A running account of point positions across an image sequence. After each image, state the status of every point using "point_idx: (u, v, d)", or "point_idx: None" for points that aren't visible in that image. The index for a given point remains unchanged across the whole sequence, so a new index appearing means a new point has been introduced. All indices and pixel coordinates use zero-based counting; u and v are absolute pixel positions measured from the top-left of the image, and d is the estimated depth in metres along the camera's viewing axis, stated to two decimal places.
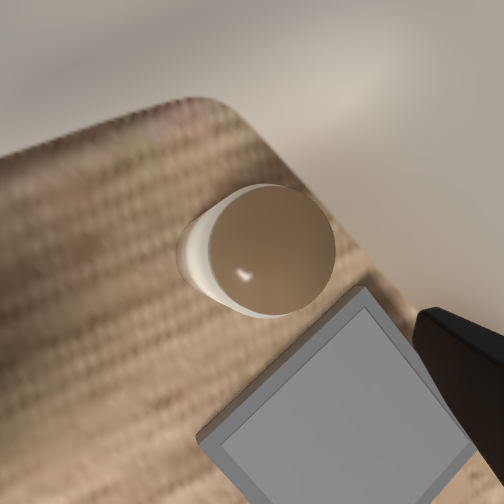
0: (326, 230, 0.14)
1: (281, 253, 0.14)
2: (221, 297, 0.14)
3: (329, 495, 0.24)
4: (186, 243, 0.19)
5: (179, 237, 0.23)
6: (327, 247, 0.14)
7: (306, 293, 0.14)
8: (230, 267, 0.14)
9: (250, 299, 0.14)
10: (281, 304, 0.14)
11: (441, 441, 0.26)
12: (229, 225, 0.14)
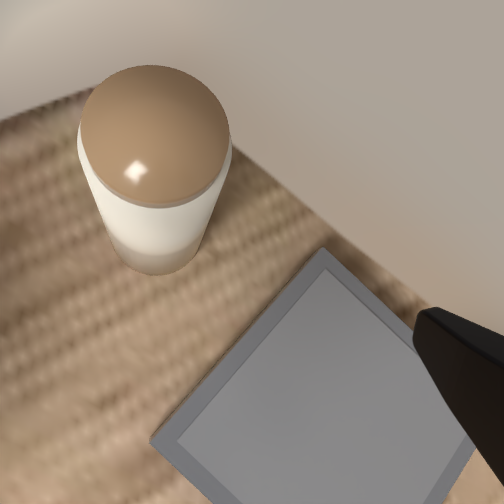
0: (215, 108, 0.13)
1: (164, 132, 0.12)
2: (105, 194, 0.12)
3: (318, 494, 0.20)
4: None
5: None
6: (218, 124, 0.13)
7: (199, 174, 0.12)
8: (104, 149, 0.12)
9: (131, 182, 0.12)
10: (170, 186, 0.12)
11: (445, 416, 0.22)
12: (99, 106, 0.12)
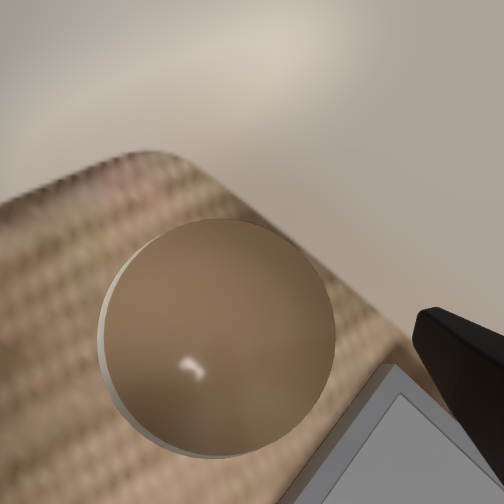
0: (312, 283, 0.08)
1: (236, 334, 0.08)
2: (141, 430, 0.08)
3: None
4: None
5: None
6: (318, 312, 0.08)
7: (293, 402, 0.08)
8: (142, 373, 0.07)
9: (187, 430, 0.07)
10: (248, 430, 0.07)
11: None
12: (134, 296, 0.08)
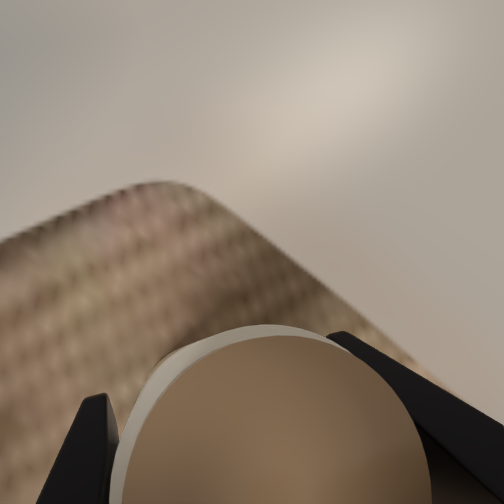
0: (398, 420, 0.06)
1: (302, 503, 0.06)
2: None
3: None
4: None
5: None
6: (408, 462, 0.06)
7: None
8: None
9: None
10: None
11: None
12: (162, 456, 0.05)
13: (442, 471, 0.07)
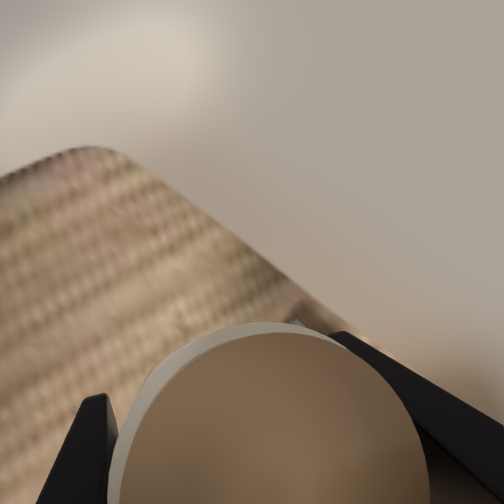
0: (396, 417, 0.06)
1: (299, 500, 0.06)
2: None
3: None
4: None
5: None
6: (406, 459, 0.06)
7: None
8: None
9: None
10: None
11: None
12: (160, 453, 0.05)
13: (442, 471, 0.07)
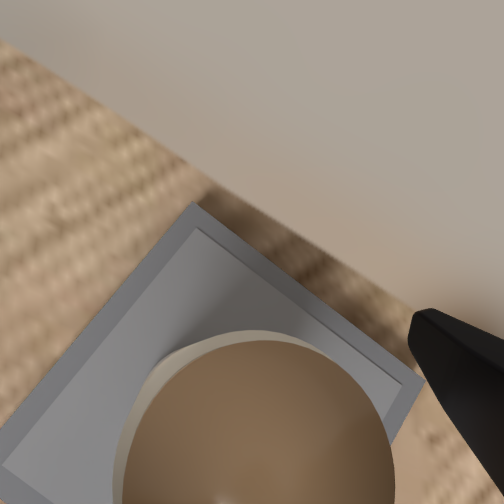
0: (366, 414, 0.07)
1: (280, 486, 0.06)
2: None
3: None
4: None
5: None
6: (374, 452, 0.07)
7: None
8: None
9: None
10: None
11: None
12: (158, 445, 0.06)
13: None
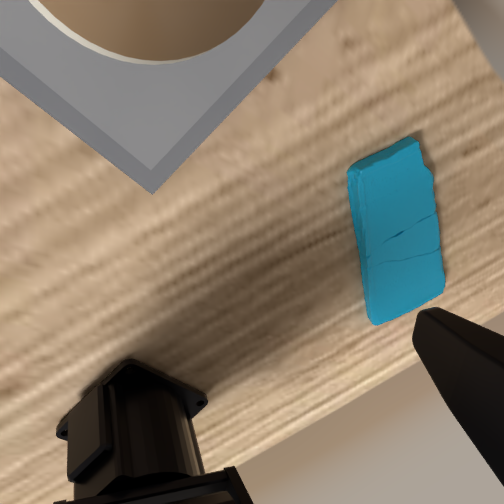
0: None
1: None
2: (42, 10, 0.07)
3: None
4: None
5: None
6: None
7: (220, 17, 0.07)
8: None
9: (95, 20, 0.06)
10: (166, 37, 0.07)
11: None
12: None
13: None
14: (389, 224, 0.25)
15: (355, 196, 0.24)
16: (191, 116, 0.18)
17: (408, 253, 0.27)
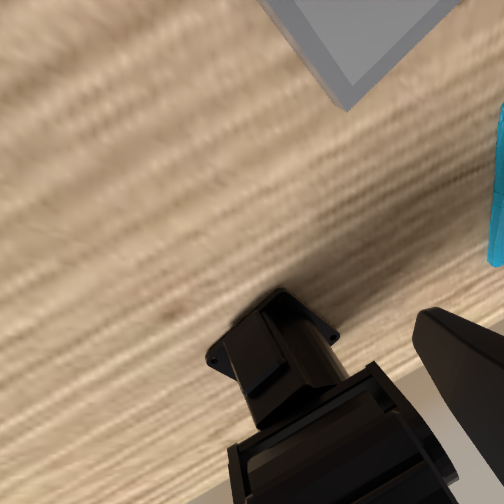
0: None
1: None
2: None
3: None
4: None
5: None
6: None
7: None
8: None
9: None
10: None
11: None
12: None
13: None
14: None
15: None
16: (398, 32, 0.19)
17: None
